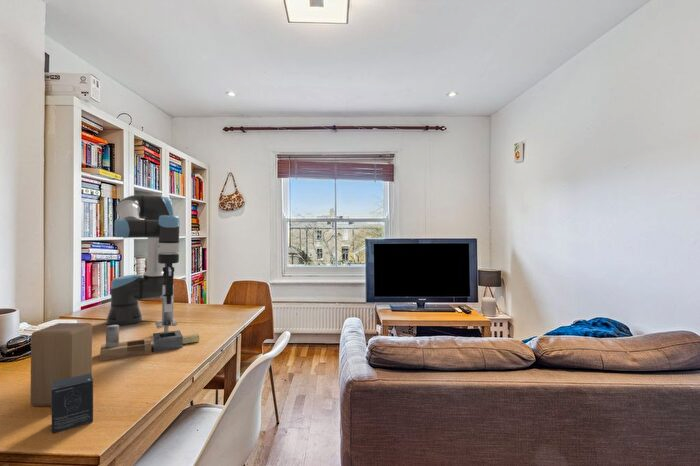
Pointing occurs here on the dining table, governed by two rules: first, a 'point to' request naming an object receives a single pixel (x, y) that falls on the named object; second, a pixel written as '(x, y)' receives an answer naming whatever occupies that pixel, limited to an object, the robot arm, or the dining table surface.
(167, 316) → the grey metal bar
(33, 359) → the block
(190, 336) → the olive rectangular bar
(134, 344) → the rack
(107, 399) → the dining table surface
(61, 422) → the box
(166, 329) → the pipe connector
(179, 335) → the socket
